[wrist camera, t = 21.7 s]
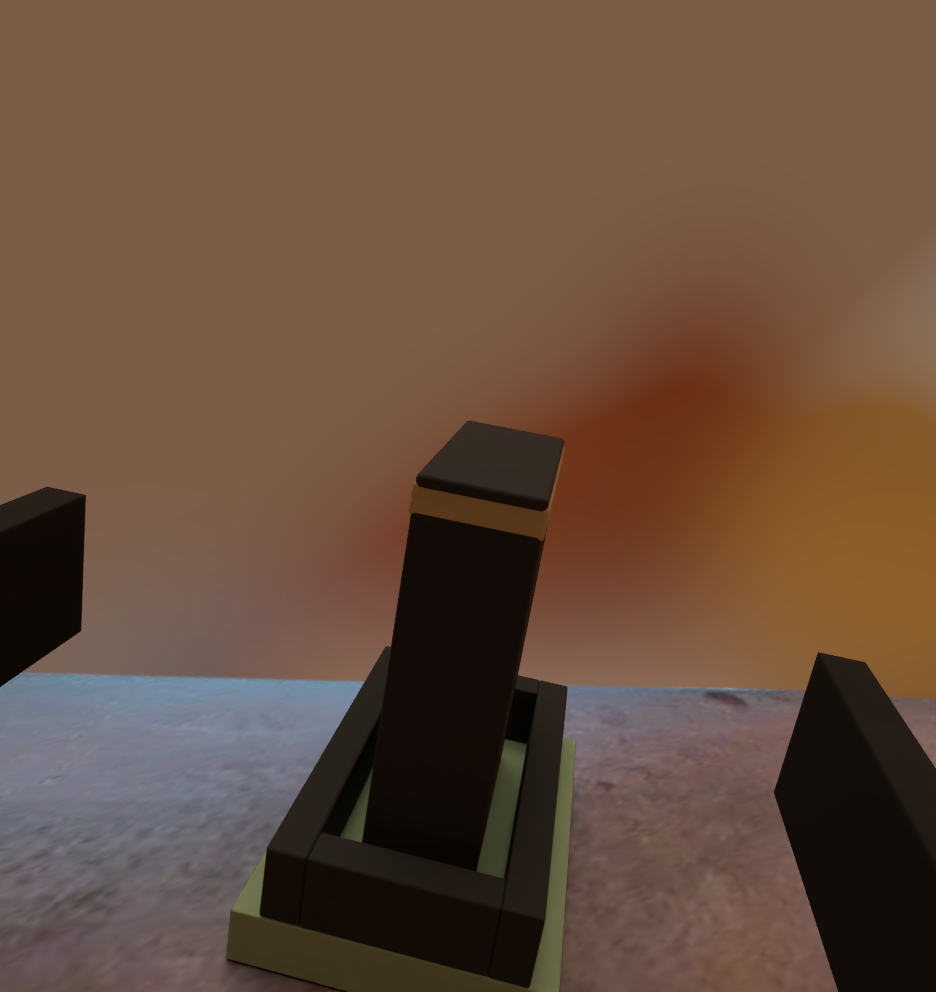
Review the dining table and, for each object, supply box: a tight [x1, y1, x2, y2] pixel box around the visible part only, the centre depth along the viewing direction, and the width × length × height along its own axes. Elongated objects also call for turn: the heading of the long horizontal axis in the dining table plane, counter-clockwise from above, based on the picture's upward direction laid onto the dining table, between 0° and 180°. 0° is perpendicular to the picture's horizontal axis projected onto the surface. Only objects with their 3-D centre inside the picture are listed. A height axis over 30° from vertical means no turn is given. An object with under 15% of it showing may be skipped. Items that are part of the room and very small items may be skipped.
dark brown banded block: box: [362, 421, 565, 871], centre depth 23 cm, size 7×3×11 cm, turn 171°
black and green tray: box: [226, 646, 576, 992], centre depth 25 cm, size 11×8×4 cm
